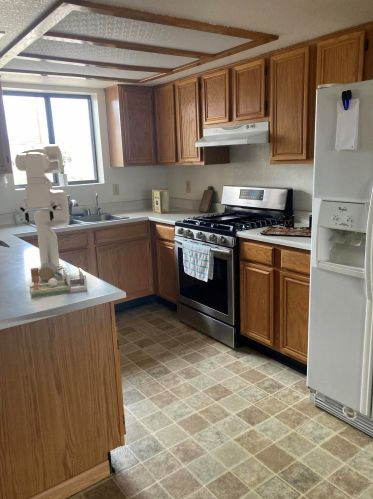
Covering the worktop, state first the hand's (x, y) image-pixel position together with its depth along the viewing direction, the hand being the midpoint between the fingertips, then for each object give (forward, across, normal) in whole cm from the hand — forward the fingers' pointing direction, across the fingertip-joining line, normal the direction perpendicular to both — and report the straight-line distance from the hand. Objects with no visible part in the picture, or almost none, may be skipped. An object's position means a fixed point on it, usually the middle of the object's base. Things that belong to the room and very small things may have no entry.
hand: (39, 221), depth 180 cm
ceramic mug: (+30, -4, -14) cm, 33 cm away
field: (+30, 0, +6) cm, 31 cm away
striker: (+29, +5, +6) cm, 30 cm away
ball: (+27, -2, +6) cm, 28 cm away
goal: (+30, -12, +6) cm, 33 cm away
